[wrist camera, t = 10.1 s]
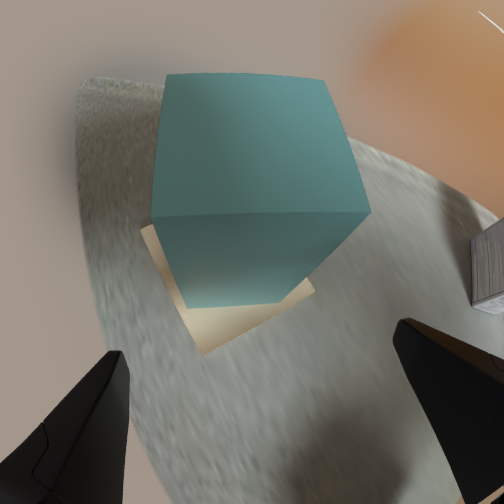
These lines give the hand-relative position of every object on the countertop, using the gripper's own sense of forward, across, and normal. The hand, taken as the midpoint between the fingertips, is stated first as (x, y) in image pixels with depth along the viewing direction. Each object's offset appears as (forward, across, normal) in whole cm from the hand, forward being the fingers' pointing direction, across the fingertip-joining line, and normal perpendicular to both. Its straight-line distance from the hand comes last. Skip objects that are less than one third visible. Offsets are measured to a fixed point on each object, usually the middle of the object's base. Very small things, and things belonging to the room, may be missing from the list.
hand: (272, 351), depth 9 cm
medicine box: (+11, -26, +6) cm, 29 cm away
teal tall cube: (+12, 0, +3) cm, 13 cm away
